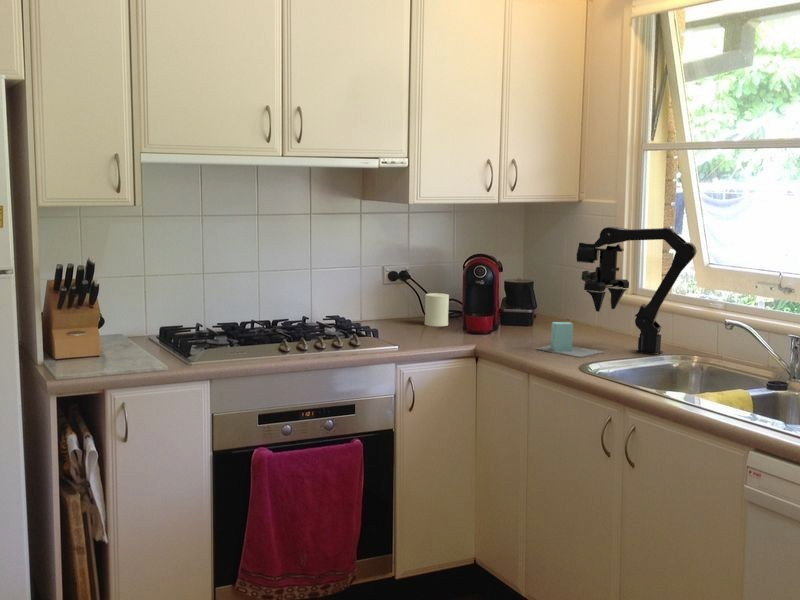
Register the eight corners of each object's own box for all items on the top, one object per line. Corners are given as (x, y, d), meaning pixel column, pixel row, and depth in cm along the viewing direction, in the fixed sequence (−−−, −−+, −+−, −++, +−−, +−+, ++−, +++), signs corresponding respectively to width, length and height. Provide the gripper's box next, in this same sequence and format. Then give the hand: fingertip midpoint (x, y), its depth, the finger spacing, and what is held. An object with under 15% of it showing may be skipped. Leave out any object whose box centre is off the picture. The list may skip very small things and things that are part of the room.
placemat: (603, 353, 299) (603, 351, 299) (580, 357, 290) (580, 356, 290) (558, 344, 312) (558, 343, 312) (535, 349, 303) (535, 348, 303)
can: (451, 323, 352) (452, 292, 350) (444, 327, 343) (445, 295, 341) (428, 321, 355) (429, 291, 353) (421, 325, 346) (422, 294, 344)
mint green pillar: (572, 350, 300) (573, 323, 299) (554, 351, 299) (555, 324, 298) (567, 348, 304) (569, 322, 302) (550, 348, 303) (551, 322, 301)
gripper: (603, 260, 316) (600, 305, 318) (571, 263, 303) (569, 309, 306) (631, 263, 308) (628, 309, 311) (600, 266, 296) (597, 313, 298)
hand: (605, 310), depth 306 cm, fingers open, 9 cm apart
